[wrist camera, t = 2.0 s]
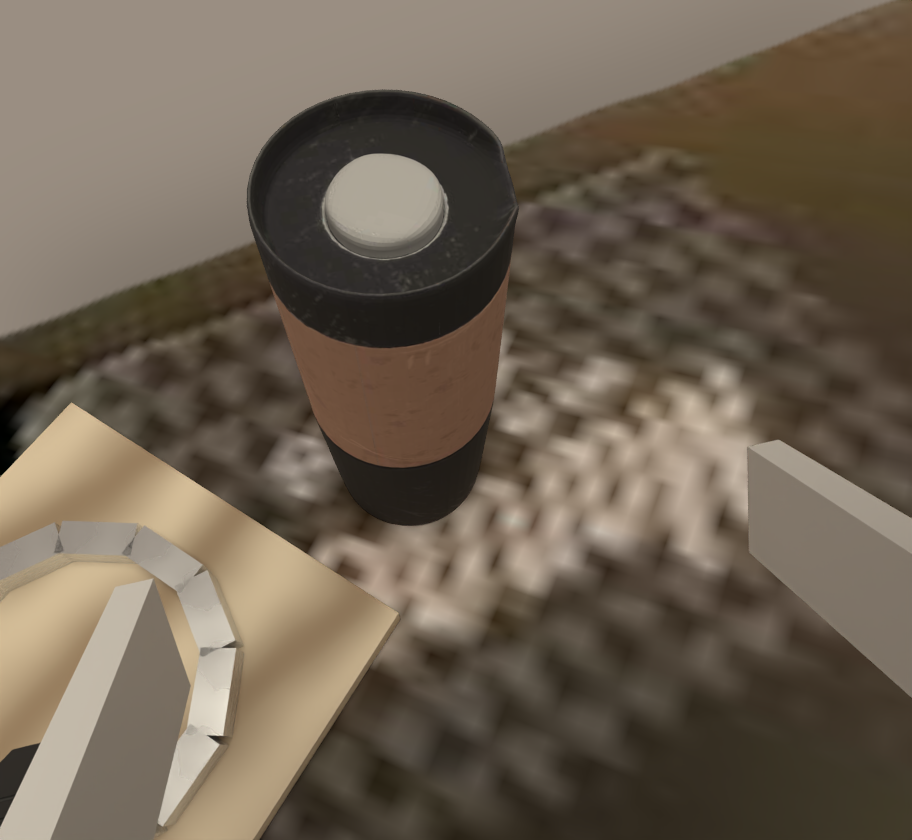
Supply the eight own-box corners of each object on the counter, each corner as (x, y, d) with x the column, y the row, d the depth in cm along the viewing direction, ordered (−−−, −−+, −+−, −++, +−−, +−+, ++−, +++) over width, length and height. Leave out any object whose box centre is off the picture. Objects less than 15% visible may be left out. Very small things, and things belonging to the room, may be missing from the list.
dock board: (400, 619, 35) (398, 613, 33) (101, 1086, 27) (83, 1103, 26) (84, 415, 39) (71, 402, 38) (-250, 772, 31) (-281, 772, 30)
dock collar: (305, 634, 33) (299, 629, 31) (81, 960, 28) (62, 971, 26) (72, 478, 36) (58, 467, 34) (-170, 746, 31) (-198, 745, 29)
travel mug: (305, 476, 38) (180, 208, 20) (396, 370, 40) (358, 48, 22) (426, 562, 36) (411, 353, 18) (512, 444, 39) (575, 161, 21)
